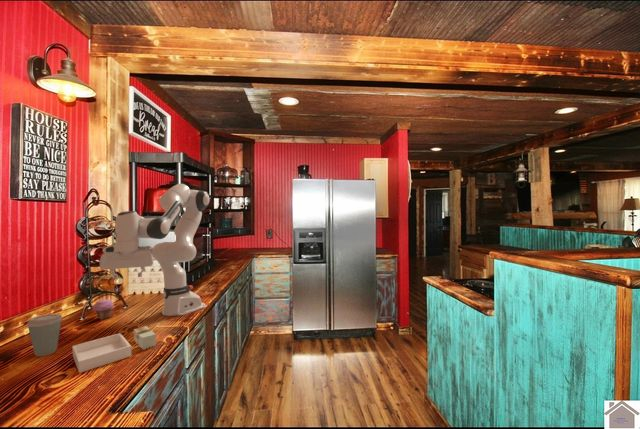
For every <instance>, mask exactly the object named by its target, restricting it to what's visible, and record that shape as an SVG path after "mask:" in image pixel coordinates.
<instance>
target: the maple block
mask: <svg viewBox="0 0 640 429" xmlns="http://www.w3.org/2000/svg"><path fill="white" fill-rule="evenodd" d="M150 331H151V328H149V327H148V326H147V325H145V326H141V327H137V328H134V329H133V341H134V342H135V343H136V344H137V345H139V334H143V333H146V332H150Z"/></svg>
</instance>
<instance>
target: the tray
mask: <svg viewBox="0 0 640 429" xmlns="http://www.w3.org/2000/svg"><path fill="white" fill-rule="evenodd" d="M72 357H73V360H74V363H75V366H76V368H77V370H78V373H83V372H84V373H85V372H87V371H90V370H92V369H96V368H99V367H102V366H105V365H108V364H111V363H114V362H117V361H120V360H124V359H126V358H130V357H132V345H131V344H130V343H129V341H128V340H127V339H126V338H125V337H124V336H123V334H122V333H121V332H120V333H116V334H112V335H108V336H104V337H101V338H97V339H93V340H90V341H85V342H82V343H78V344H75V345H72Z"/></svg>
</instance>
